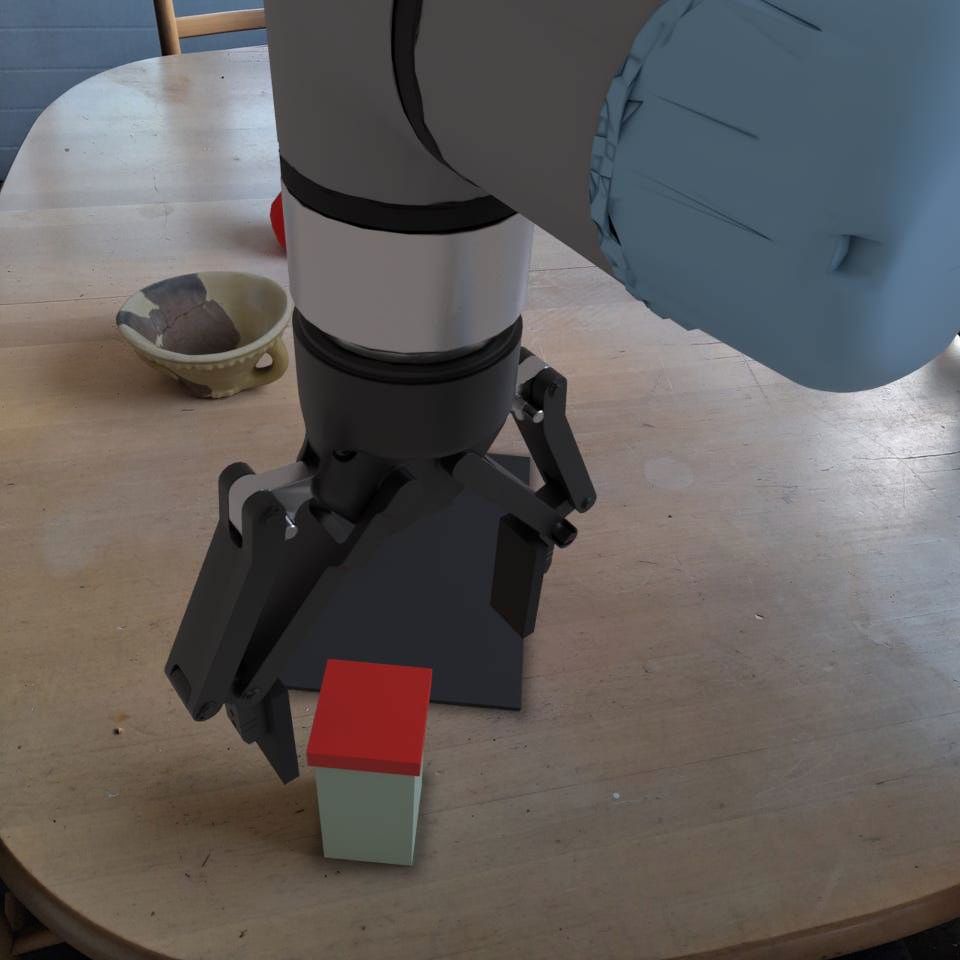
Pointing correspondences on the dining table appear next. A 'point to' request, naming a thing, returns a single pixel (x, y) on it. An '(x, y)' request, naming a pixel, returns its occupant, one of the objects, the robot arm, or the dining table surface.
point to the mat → (426, 608)
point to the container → (369, 759)
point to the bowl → (210, 330)
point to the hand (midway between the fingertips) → (403, 683)
